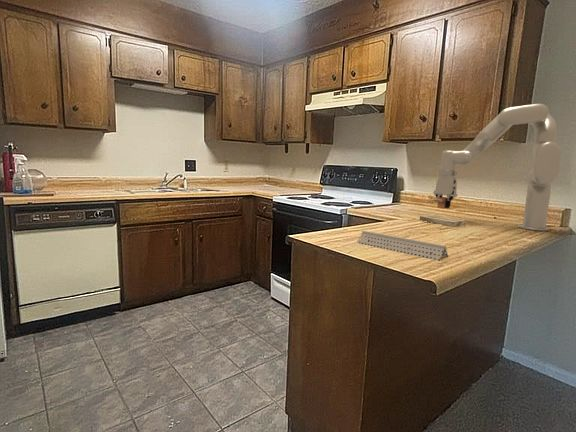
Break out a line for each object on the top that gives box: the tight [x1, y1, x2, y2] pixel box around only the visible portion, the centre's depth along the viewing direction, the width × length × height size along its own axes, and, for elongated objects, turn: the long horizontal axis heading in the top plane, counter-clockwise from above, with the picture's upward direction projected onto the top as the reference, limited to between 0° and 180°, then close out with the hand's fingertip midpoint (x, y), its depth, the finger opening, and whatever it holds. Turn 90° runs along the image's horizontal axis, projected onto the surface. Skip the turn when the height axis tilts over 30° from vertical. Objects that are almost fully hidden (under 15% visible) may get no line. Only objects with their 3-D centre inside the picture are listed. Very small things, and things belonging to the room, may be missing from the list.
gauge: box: [427, 196, 447, 209], centre depth 191 cm, size 15×4×6 cm, turn 122°
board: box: [419, 214, 467, 228], centre depth 186 cm, size 10×20×3 cm, turn 32°
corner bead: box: [356, 230, 450, 262], centre depth 124 cm, size 31×9×5 cm, turn 45°
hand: (443, 207), depth 194 cm, fingers closed on gauge, 4 cm apart
